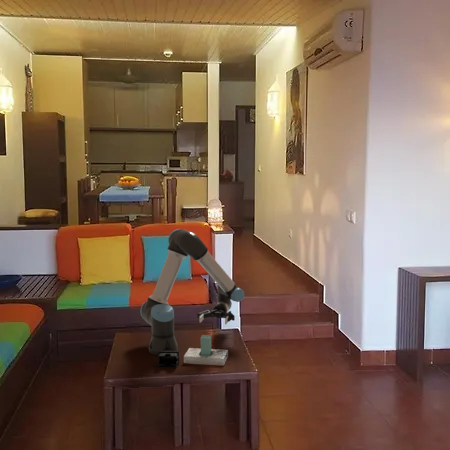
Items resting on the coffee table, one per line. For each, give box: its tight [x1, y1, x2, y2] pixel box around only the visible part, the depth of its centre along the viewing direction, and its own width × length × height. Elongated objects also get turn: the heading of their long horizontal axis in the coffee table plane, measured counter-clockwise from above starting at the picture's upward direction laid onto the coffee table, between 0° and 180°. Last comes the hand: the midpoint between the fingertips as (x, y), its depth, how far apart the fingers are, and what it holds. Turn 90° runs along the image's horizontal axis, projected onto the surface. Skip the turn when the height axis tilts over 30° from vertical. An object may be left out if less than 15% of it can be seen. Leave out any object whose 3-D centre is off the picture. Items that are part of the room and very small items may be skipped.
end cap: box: [157, 350, 180, 369], centre depth 277 cm, size 10×7×7 cm
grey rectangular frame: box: [183, 347, 229, 366], centre depth 284 cm, size 20×12×4 cm, turn 80°
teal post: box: [200, 334, 212, 356], centre depth 283 cm, size 4×4×12 cm
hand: (212, 321), depth 296 cm, fingers open, 13 cm apart
